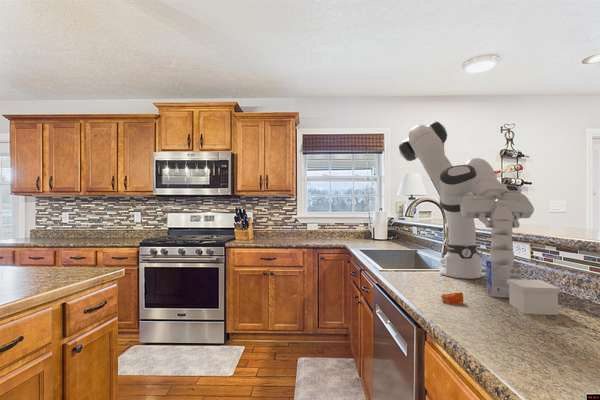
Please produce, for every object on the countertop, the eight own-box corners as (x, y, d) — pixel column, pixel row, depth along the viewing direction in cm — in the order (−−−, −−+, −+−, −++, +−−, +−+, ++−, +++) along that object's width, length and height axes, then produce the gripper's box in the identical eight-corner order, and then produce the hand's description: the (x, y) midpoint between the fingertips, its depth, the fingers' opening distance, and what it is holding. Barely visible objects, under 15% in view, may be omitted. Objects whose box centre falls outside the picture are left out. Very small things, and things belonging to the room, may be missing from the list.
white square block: (507, 303, 102) (506, 279, 103) (541, 304, 101) (540, 280, 101) (523, 314, 93) (522, 287, 93) (561, 315, 91) (560, 288, 91)
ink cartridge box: (516, 294, 112) (515, 254, 113) (523, 299, 107) (522, 256, 107) (485, 293, 114) (485, 253, 115) (492, 297, 109) (491, 256, 109)
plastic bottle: (486, 265, 95) (485, 199, 95) (493, 262, 99) (493, 199, 100) (510, 268, 90) (510, 199, 90) (517, 265, 95) (517, 199, 95)
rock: (426, 299, 110) (426, 287, 110) (459, 298, 111) (458, 286, 111) (445, 310, 98) (444, 297, 98) (481, 309, 99) (481, 295, 99)
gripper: (457, 188, 103) (468, 219, 94) (525, 187, 100) (544, 219, 90) (453, 201, 108) (463, 232, 98) (518, 201, 104) (536, 233, 95)
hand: (503, 226), depth 94 cm, fingers closed on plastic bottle, 6 cm apart
